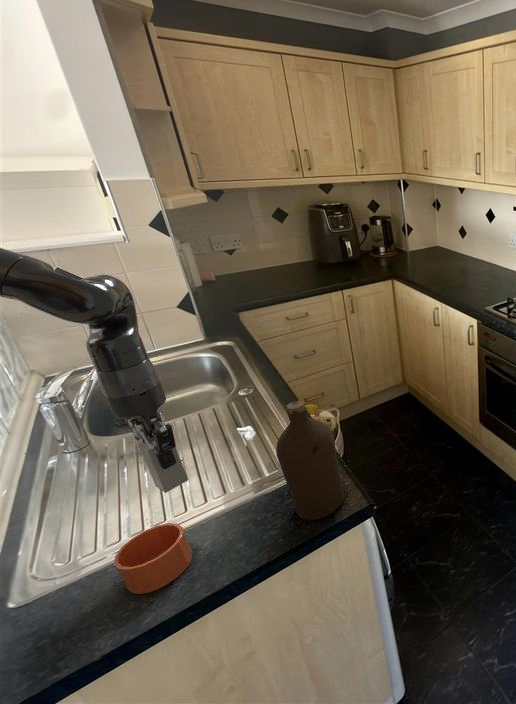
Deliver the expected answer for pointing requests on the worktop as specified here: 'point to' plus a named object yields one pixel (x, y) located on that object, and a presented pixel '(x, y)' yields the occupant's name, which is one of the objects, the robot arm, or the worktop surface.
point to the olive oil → (309, 464)
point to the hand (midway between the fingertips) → (163, 462)
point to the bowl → (153, 558)
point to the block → (160, 476)
